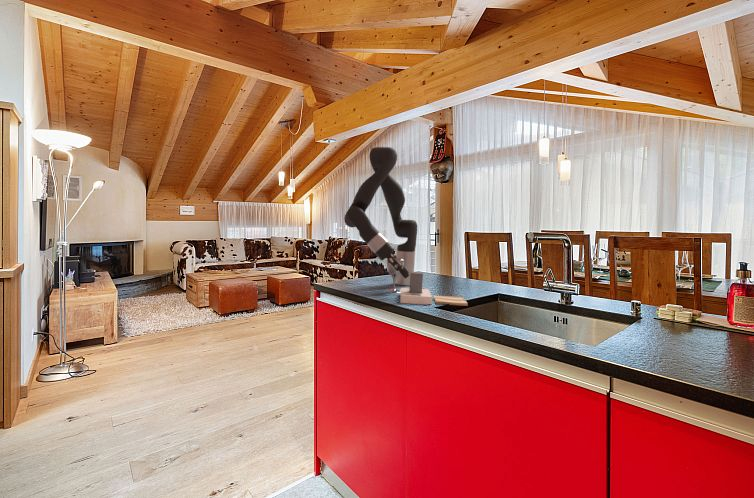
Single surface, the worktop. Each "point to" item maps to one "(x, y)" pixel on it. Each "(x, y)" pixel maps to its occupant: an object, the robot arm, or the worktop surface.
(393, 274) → the wine glass
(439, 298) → the rest pad
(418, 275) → the grey rectangular block
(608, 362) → the worktop surface
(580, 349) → the worktop surface
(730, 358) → the worktop surface
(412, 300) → the pinkish tan rectangular slab
